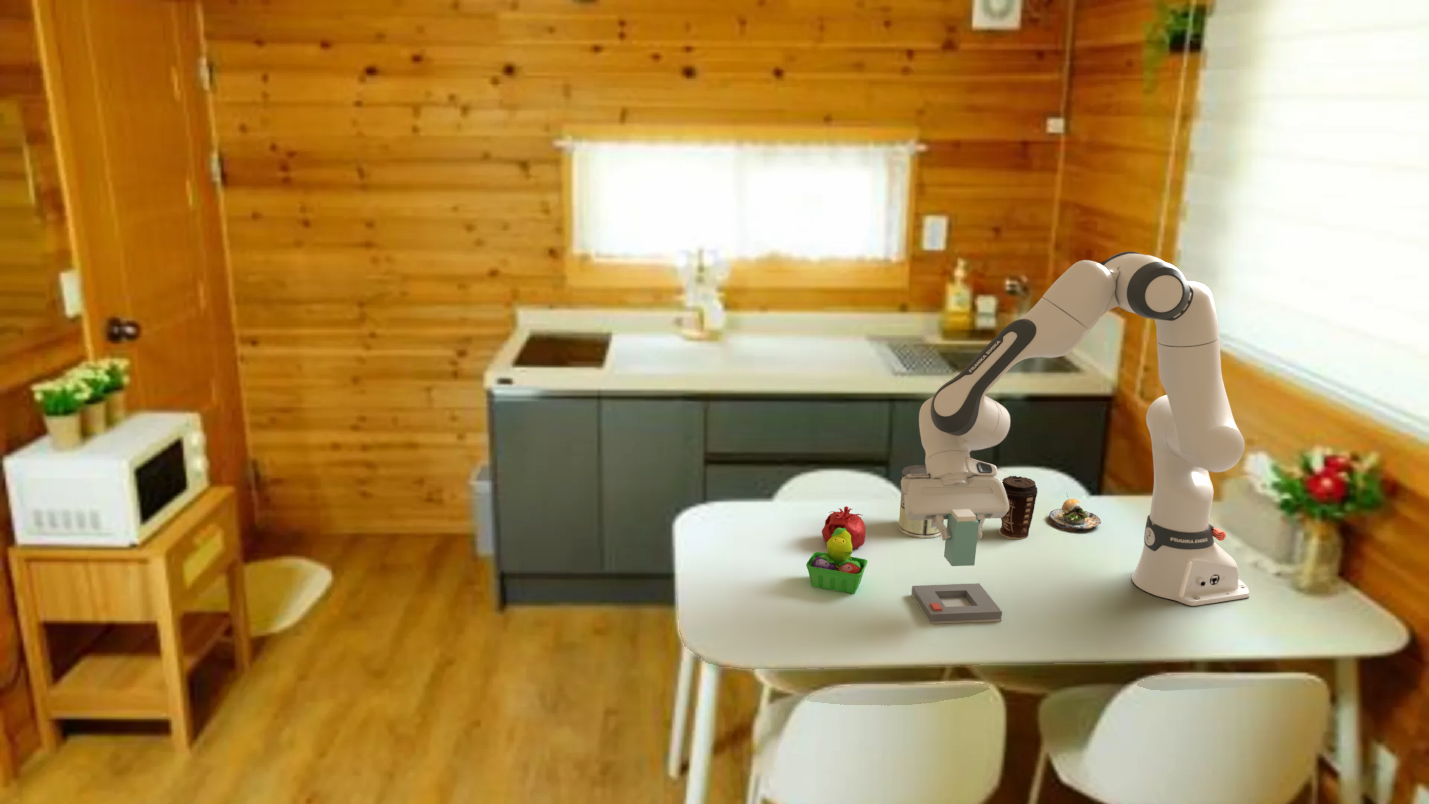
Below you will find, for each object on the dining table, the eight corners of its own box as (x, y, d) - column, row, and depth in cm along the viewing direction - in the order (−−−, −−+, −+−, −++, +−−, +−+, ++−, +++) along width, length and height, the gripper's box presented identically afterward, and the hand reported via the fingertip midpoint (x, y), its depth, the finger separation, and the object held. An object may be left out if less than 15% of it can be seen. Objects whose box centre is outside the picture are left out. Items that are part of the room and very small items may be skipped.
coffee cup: (1004, 523, 246) (1010, 471, 243) (1038, 532, 241) (1045, 480, 238) (988, 534, 240) (994, 481, 236) (1023, 544, 235) (1029, 490, 231)
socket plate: (978, 592, 212) (979, 581, 211) (1000, 621, 200) (1002, 609, 199) (911, 594, 210) (912, 583, 209) (930, 623, 198) (931, 612, 198)
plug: (966, 555, 205) (971, 508, 202) (974, 565, 200) (979, 517, 197) (943, 556, 204) (948, 508, 201) (951, 566, 200) (956, 517, 197)
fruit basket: (803, 588, 212) (806, 537, 209) (815, 570, 220) (817, 521, 216) (859, 598, 208) (862, 546, 205) (868, 579, 216) (871, 529, 213)
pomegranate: (853, 533, 239) (855, 495, 236) (873, 551, 230) (876, 512, 227) (813, 538, 236) (815, 499, 233) (832, 556, 227) (834, 516, 224)
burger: (1076, 538, 240) (1079, 507, 237) (1037, 520, 249) (1040, 491, 247) (1111, 528, 245) (1115, 498, 243) (1072, 511, 255) (1075, 482, 253)
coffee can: (907, 517, 249) (912, 461, 245) (949, 527, 243) (954, 470, 239) (890, 531, 240) (895, 474, 236) (933, 542, 235) (938, 483, 231)
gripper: (903, 467, 203) (914, 534, 196) (1004, 465, 205) (1018, 531, 199) (895, 480, 208) (905, 546, 202) (993, 478, 211) (1007, 543, 204)
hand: (962, 539), depth 200 cm, fingers closed on plug, 4 cm apart
